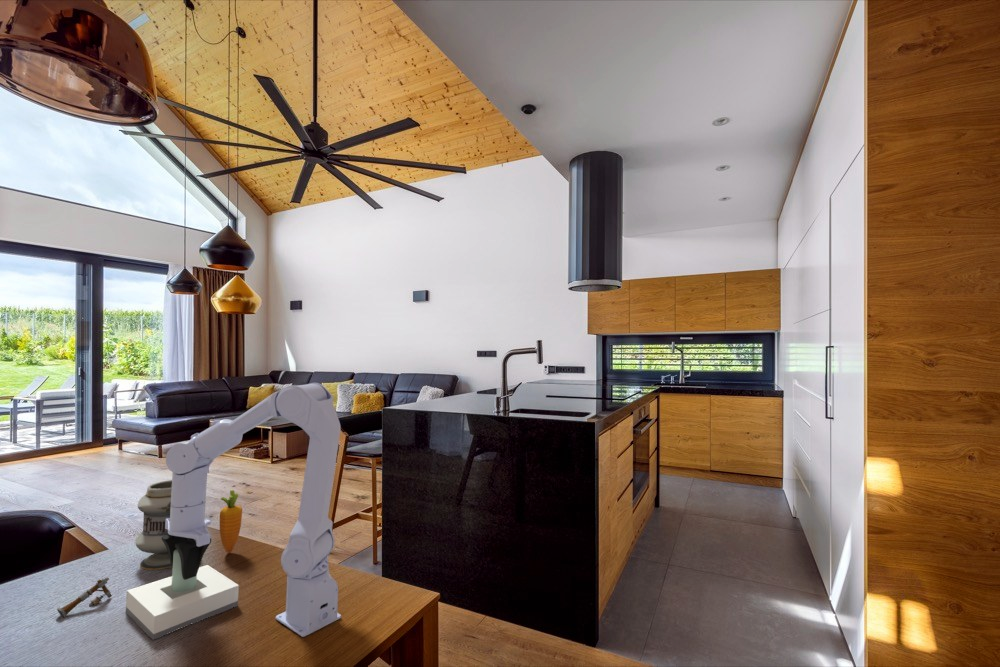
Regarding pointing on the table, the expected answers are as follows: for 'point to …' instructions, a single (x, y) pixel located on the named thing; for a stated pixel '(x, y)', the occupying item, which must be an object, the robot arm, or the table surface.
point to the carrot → (230, 522)
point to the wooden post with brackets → (85, 595)
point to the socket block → (180, 602)
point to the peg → (180, 576)
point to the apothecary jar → (155, 525)
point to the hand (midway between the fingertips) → (184, 574)
